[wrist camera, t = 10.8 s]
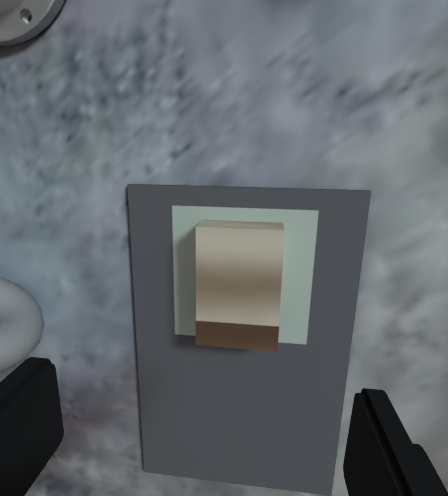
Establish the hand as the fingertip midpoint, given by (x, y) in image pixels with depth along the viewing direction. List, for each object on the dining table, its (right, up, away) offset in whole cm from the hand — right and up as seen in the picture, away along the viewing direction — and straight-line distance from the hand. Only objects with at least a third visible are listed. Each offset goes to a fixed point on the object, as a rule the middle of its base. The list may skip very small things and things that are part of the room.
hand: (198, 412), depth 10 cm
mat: (+2, -4, +18) cm, 19 cm away
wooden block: (+2, +3, +16) cm, 16 cm away
